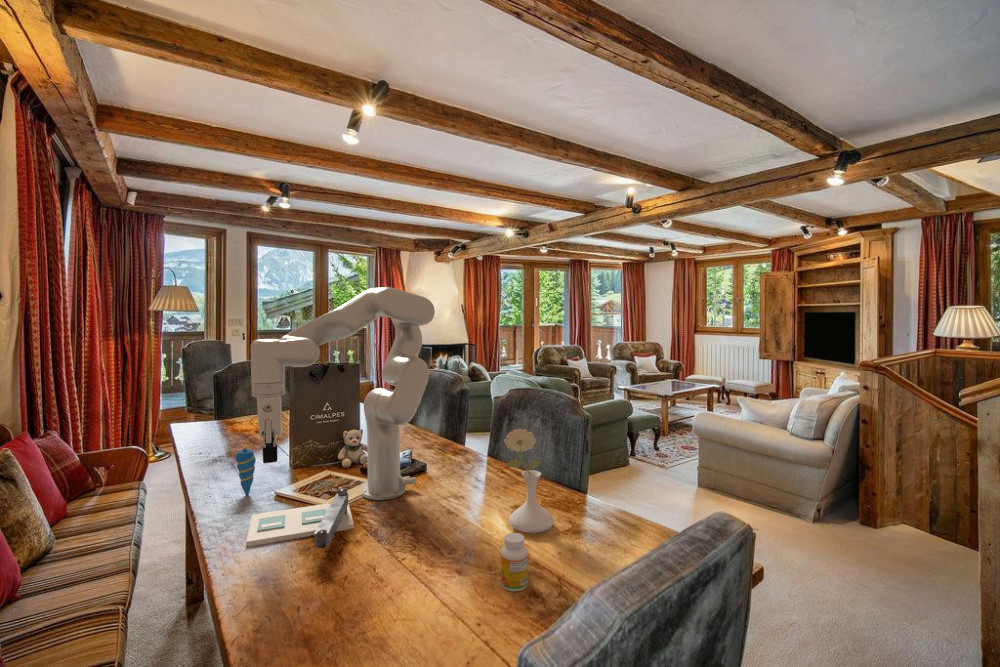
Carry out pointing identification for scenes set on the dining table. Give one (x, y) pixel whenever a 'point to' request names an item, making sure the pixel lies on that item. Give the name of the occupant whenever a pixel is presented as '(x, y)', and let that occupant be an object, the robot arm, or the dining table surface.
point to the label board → (291, 524)
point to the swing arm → (331, 519)
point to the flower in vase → (530, 512)
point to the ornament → (246, 468)
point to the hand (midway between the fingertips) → (270, 461)
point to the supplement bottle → (514, 563)
